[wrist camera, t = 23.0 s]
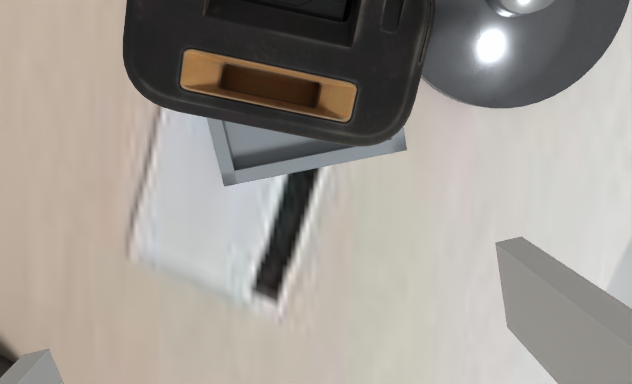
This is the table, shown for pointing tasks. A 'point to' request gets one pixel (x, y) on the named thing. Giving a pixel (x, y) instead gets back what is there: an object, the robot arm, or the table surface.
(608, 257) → the table surface
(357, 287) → the table surface
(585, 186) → the table surface
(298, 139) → the tray
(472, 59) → the crank base
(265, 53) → the electronic device
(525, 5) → the crank
